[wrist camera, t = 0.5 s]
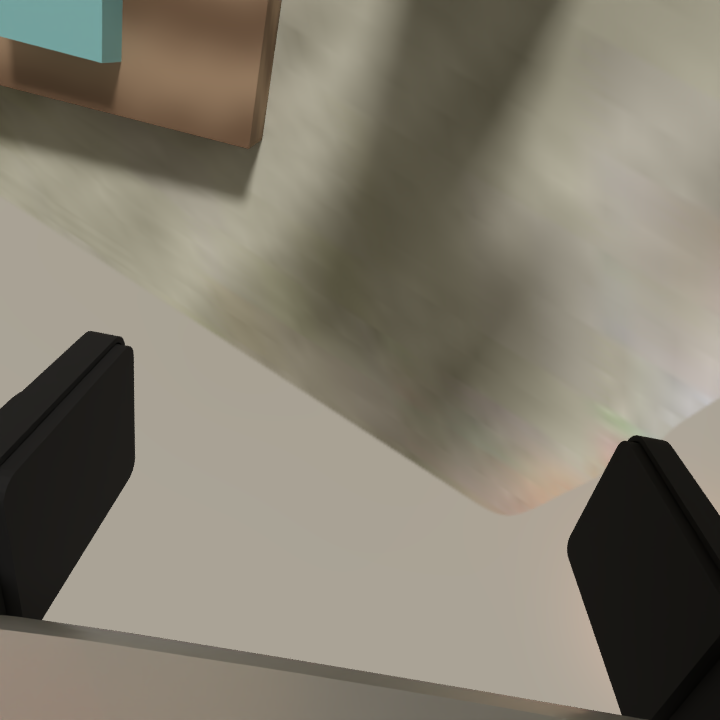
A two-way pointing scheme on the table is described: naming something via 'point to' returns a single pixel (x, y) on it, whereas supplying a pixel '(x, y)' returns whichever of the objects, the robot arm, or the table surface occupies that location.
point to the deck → (168, 68)
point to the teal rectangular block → (66, 26)
